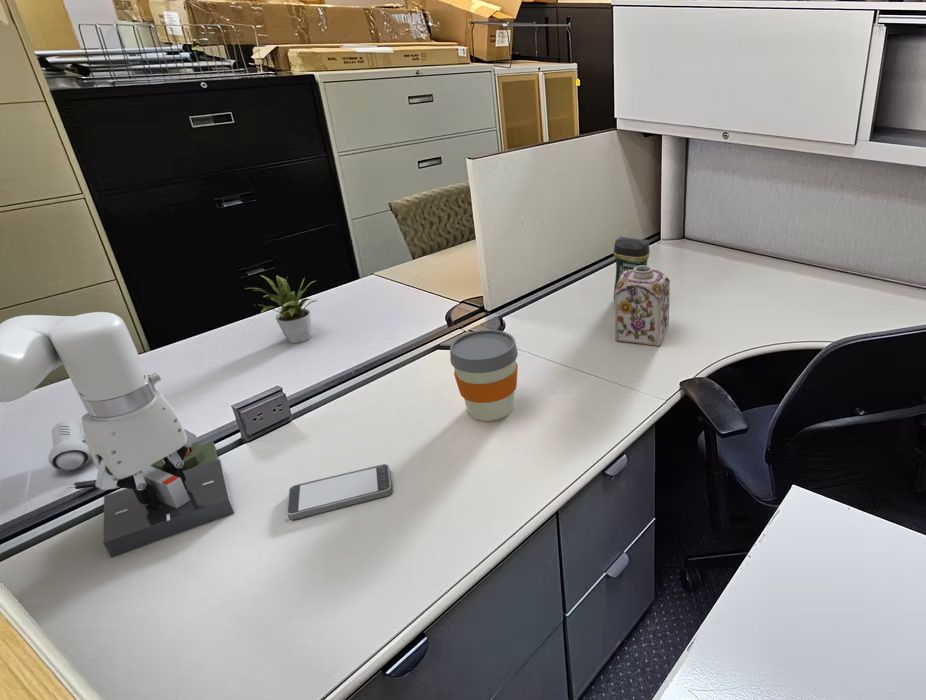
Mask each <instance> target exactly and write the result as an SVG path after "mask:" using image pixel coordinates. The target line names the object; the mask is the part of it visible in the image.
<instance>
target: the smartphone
mask: <svg viewBox="0 0 926 700" xmlns="http://www.w3.org/2000/svg"><path fill="white" fill-rule="evenodd" d="M390 470H391V469H390V466H389V464H388V463H381V464H376V465H373V466H369V467H364V468H360V469H357V470H353V471H348V472H344V473H340V474H334V475H332V476H331V475H330V476H327V477H322V478H319V479H314V480H309V481H306V482H302V483H298V484H294V485H291V486H290V487H289V489H288V499H287V507H286V514H287V516H288V519H289V520H293V521H294V520H297V519H301V518H306V517H309V516H314V515H317V514H321V513H324V512H329V511H333V510H336V509H340V508H345V507H348V506H352V505H355V504H360V503H364V502H367V501H371V500H376V499H379V498H383V497H387V496H389V495H391V494H392V493H393V488H392V478H391V471H390Z"/></svg>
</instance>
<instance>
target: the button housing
mask: <svg viewBox="0 0 926 700" xmlns="http://www.w3.org/2000/svg"><path fill="white" fill-rule="evenodd" d="M189 450H190V454H189V455H188V456H186V457H184V459H183V463H184V464H183V466H182V467H181V468H182V471H185V470H188V469H191V468H194V467H197V466H200V465H204V464H207V463H210V462H213V461H216V460H219V459H220V458H219V455H218V450H217V446H216V445H215V442H214V441H210V442H207V443H203V444H200V443H197V442H195V441H194V442H193V443H192V445H191V446H190V447H189ZM164 464H165V463H164V462H163V461H162V459H161V460H159V461H157V462H155V463H154V464H152V465H150V466H151V467H154V468H156V469H159V470H161V471H163V470H162V466H163V465H164Z"/></svg>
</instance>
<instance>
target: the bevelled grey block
mask: <svg viewBox="0 0 926 700" xmlns="http://www.w3.org/2000/svg"><path fill="white" fill-rule="evenodd" d="M142 471H143V474H144V478H145V482H146V483H147V484H149V485H151V486H152V487H153V489H154V491H155V493H156V495H157V497H158V499H159V501H160V502H163V503H165V504H168V505H170V506H172V507H175V508H179V507H180V506H182V505H184V504H185V503H187V502H188V501H190V498H189V496H188V494H187V492H186V489H185V487H184V485H183V483H182V480H181V478H179V477H177V476H174V475H171V474H169V473H166V472H164V471H161V470H159V469H156V468H154V467H151V466H148V467H146V468H144V469H143V470H142Z"/></svg>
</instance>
